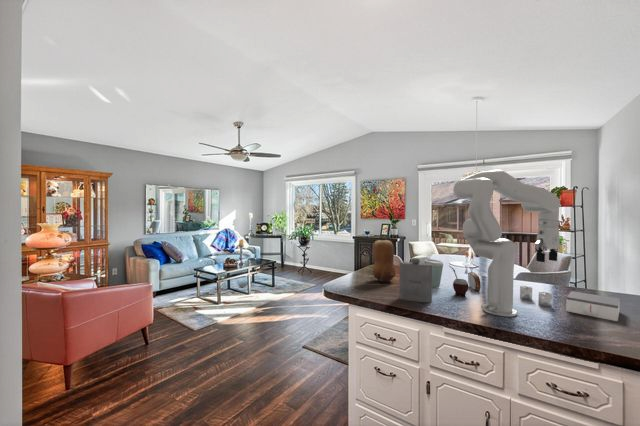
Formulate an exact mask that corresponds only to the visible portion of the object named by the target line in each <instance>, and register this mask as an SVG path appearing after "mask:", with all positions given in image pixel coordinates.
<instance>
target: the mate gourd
mask: <svg viewBox="0 0 640 426" xmlns="http://www.w3.org/2000/svg"><path fill="white" fill-rule="evenodd" d="M448 266H449V267H450V269H451V270H452V271H453V273H454V275H455V278H456V279H454V281H453V283H452V288H453V290H454V292H455V293H454V296H455V297H462V298H466V297H467V296H466V295H467V292H468V291H469V283H468V280H466V279H464V278H458V276H457V273H456V269H455V268H454V267H452V266H450V265H448Z"/></svg>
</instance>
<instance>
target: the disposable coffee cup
mask: <svg viewBox="0 0 640 426" xmlns="http://www.w3.org/2000/svg"><path fill="white" fill-rule="evenodd" d="M423 263H426V264H431V265H432V289H439V288H440V285H441V280H442V276H443V275H442V273H443V268H444V263H443V261H442V260H437V259H432V258H426V259H424V261H423Z"/></svg>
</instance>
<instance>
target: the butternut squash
mask: <svg viewBox="0 0 640 426" xmlns="http://www.w3.org/2000/svg"><path fill="white" fill-rule="evenodd" d="M394 256H395V249H394V244H393V242H392V241H391V240H388V239H385V240H380V239H378V240H375V241H374V243H373V258H374V264H373V266H372V275H373V276H374V278H375V279H376V280H377V281H379V282H382V283H389V282H391V281H392V280H393V279H394V278H395V277H396V275H397V269H396V266H395V263H394V258H395V257H394Z"/></svg>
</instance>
